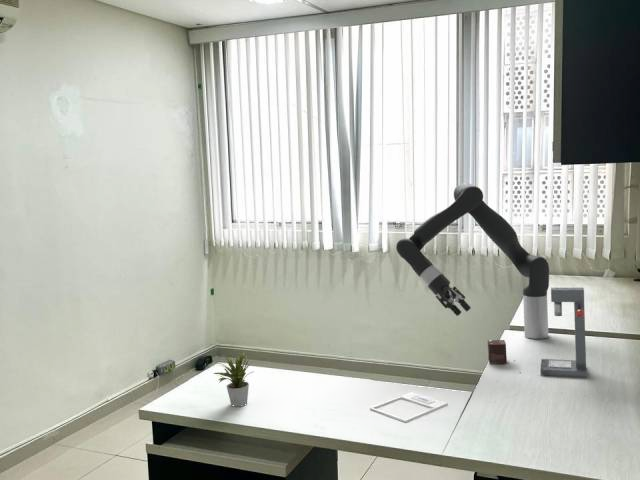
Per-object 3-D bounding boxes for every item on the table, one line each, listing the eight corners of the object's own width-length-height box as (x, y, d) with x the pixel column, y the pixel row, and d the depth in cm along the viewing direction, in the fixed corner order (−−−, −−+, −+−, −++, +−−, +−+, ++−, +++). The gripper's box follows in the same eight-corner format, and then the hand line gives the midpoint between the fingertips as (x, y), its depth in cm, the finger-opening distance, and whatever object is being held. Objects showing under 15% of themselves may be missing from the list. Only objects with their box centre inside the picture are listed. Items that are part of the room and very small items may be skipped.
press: (541, 364, 211) (538, 285, 208) (585, 366, 205) (583, 285, 203) (540, 380, 195) (537, 295, 192) (587, 383, 190) (585, 295, 187)
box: (507, 364, 214) (506, 344, 213) (489, 364, 215) (488, 344, 214) (505, 359, 220) (504, 339, 219) (488, 359, 221) (487, 339, 220)
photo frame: (447, 402, 179) (405, 420, 168) (447, 406, 180) (405, 423, 169) (411, 391, 191) (369, 407, 180) (411, 394, 191) (370, 410, 180)
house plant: (225, 394, 202) (221, 347, 200) (265, 394, 199) (261, 346, 198) (210, 411, 188) (206, 359, 186) (253, 410, 185) (249, 359, 184)
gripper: (432, 276, 221) (463, 309, 215) (449, 270, 232) (478, 301, 226) (420, 289, 225) (449, 322, 219) (436, 283, 236) (465, 314, 230)
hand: (464, 312), depth 223 cm, fingers open, 8 cm apart
